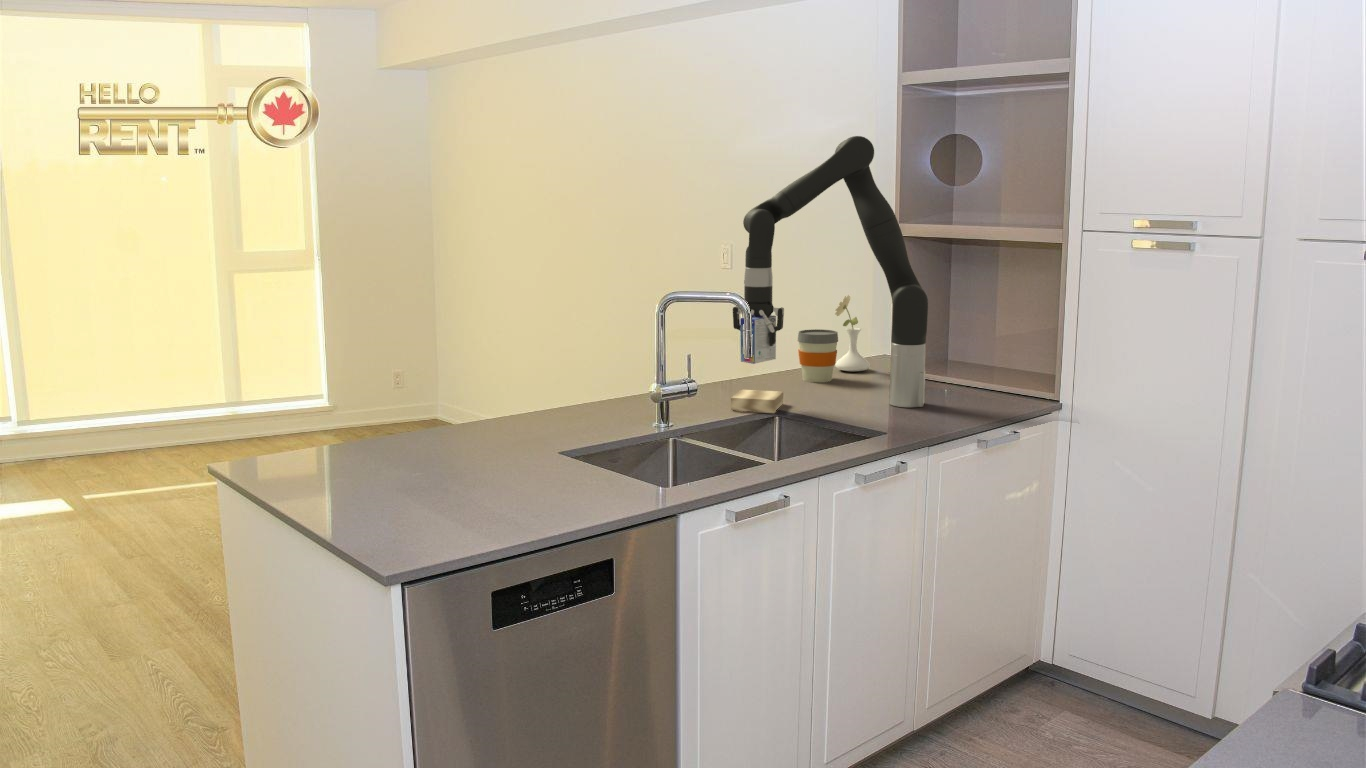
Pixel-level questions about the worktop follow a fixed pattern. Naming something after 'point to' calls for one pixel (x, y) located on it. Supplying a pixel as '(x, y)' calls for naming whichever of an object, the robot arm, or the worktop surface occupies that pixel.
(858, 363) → the flower in vase
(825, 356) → the reusable coffee cup
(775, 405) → the birch block
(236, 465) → the worktop surface
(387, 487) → the worktop surface
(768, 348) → the ink cartridge box
